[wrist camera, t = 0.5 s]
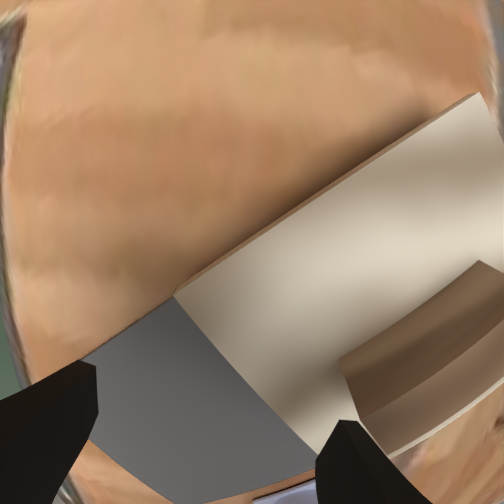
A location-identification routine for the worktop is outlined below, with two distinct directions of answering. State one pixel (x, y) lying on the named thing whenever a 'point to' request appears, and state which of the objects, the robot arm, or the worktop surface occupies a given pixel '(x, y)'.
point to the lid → (374, 290)
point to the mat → (187, 414)
